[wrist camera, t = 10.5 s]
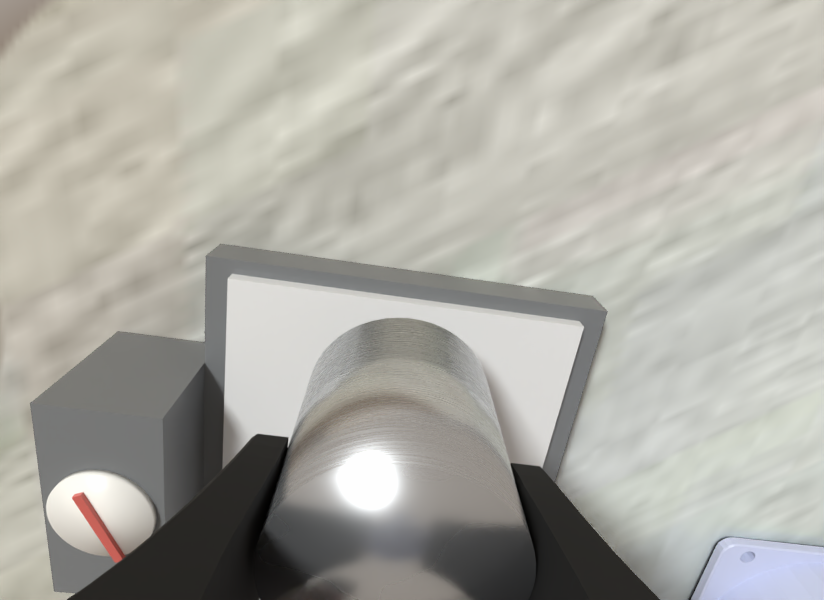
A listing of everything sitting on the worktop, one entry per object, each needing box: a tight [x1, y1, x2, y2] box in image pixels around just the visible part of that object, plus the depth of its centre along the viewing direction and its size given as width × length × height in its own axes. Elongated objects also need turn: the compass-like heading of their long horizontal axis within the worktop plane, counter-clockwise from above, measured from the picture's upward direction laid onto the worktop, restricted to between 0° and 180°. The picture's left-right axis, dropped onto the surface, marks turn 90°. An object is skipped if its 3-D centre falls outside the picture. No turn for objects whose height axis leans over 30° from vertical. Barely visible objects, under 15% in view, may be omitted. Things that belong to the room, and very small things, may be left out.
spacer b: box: [253, 318, 536, 600], centre depth 10 cm, size 4×4×5 cm
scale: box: [30, 244, 608, 600], centre depth 15 cm, size 14×12×4 cm
